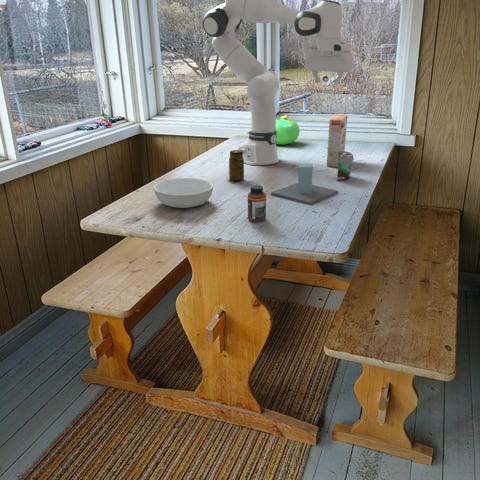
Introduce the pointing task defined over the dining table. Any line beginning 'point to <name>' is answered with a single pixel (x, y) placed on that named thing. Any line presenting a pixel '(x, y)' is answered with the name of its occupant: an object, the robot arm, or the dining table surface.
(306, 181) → the slate-blue block
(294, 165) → the dining table surface
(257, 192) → the supplement bottle
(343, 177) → the food container
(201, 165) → the dining table surface
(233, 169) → the condiment
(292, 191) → the rubber mat
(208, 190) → the serving bowl
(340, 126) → the cracker box
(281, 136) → the toy bird
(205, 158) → the dining table surface
